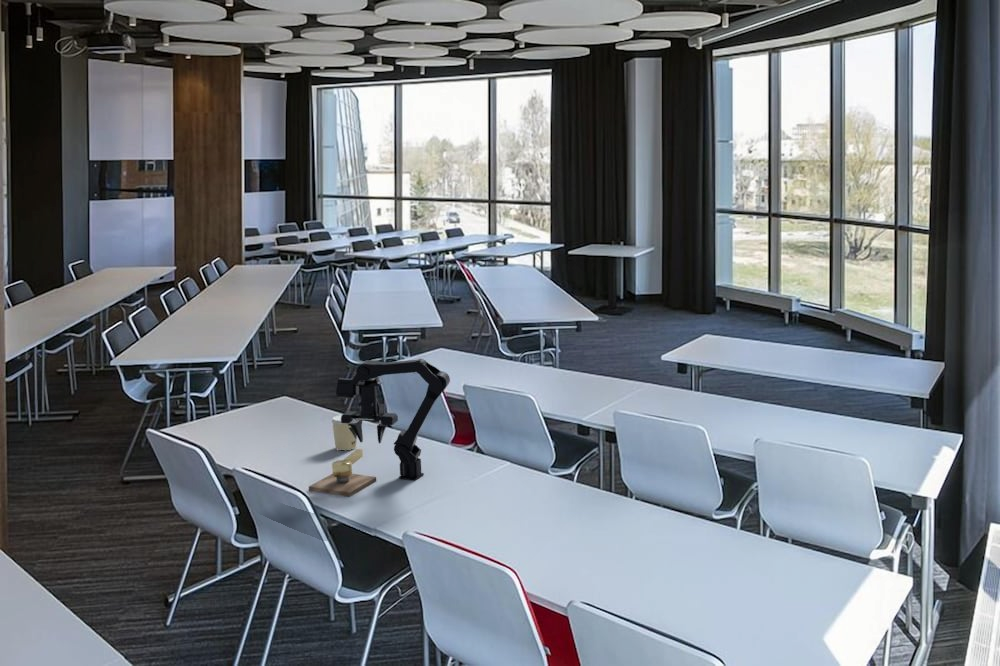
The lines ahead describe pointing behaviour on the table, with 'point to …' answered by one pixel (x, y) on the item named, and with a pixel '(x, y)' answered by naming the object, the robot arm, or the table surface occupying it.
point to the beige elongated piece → (346, 464)
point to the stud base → (342, 484)
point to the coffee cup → (343, 435)
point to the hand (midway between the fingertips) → (370, 442)
